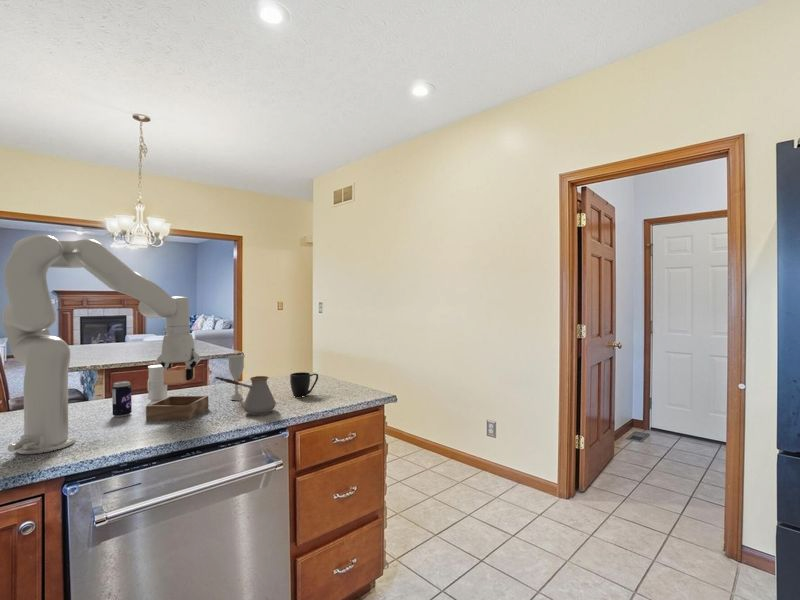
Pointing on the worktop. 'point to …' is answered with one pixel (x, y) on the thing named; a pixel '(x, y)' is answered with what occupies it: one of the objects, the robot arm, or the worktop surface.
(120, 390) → the beverage can
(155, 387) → the candle
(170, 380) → the terracotta crate
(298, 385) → the mug
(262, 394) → the coffee pot
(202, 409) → the walnut crate
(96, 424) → the worktop surface
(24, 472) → the worktop surface
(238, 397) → the chalice
